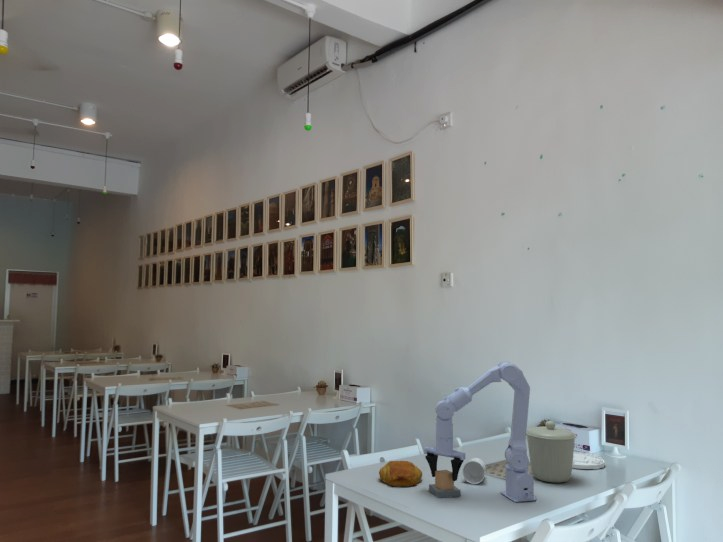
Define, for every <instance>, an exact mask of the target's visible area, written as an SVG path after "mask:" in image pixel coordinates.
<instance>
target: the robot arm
mask: <svg viewBox="0 0 723 542" xmlns="http://www.w3.org/2000/svg"><path fill="white" fill-rule="evenodd" d="M502 380H503V381H504V382H506V383H507V384H508V385H509V386H510V387H511V388H512V390H513V391H514V392H513V393H514V394H513V405H512V416H511V427H510V428H511V429H510V437H509V440H508V446H507V447H506V449H505V451H504V459H505V460H506V461H507V463H506V465H505V490H504V491H500V494H502V495H503V496H504V497H506V498H508V499H510V501H513V502H515V503H517V502H531V501H537V498H536V497H535V493H534V492H535V491H534V490H535V484H534V483H535V482H534V478H533V476H531V474H530V473H529V468H528V466H529V463H530V458H529V456H528V453H527V451H528V448H527V441H526V439H527V435H526V431H527V430H528V417H529V406H530V405H529V404H530V395H531V393H530V392H531V387H530V383H528V381H527V379H526V377H525V375H524V372H523V371H522V369H521V368H519V367H518V366H517V365H516V364H514V363H511V362H510V361H508V360H507V361H501V362H499V363H498V364H497V365H495V366H492V367H491V368H489V369H488V370H487V371H486V372H484V373H483V374H481V376H479V377H478V378H477V379H476V380H474V381H473V382H472V383H471V384H469V385H468V386H467V387H466V386H460V387H457V386H456V388H454V391H453V392H452V393H451V394H449V395H448V396H444V397H443V400H440V401H438V402H437V403H436V405H435V414H436V418H435V420H436V423H435V447H431V446H426V447H424V448H423V450H424V451H423V453H424V454H426V455H425V456H424V457H425V460H426V461H427V464H428V466H429V470H430V473H431V478H435V471H438V458H439V456H441V457H446V458H450V463H451V470H452V471H451V472H452V480H453V481H454V482H456V481H458V477H459V473H460V470H461V467H462V464H463V463H464V461H465V460H466V452H461V451H458V450H455V449H454V424H453V417H454V415H455V412H458V411H460V410H461V409H462V408H464V407H465V406H467V405H468V404H469V403H471V402H472V401H473V396H474V395H475V394H477V393H478V392H480V391H481V390H483V389H484V388H486V387H487V386H489V385H490V384H491V383H502V382H503V381H502ZM451 458H452V459H451Z"/></svg>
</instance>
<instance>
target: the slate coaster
mask: <svg viewBox="0 0 723 542" xmlns="http://www.w3.org/2000/svg"><path fill="white" fill-rule="evenodd" d="M428 491H429V492H430V493H431V494H433V495H434V497H436V498H438V499H444V498H456V497H457V498H458V497H461V493H462V492H461V488H460V489H459V487H457V486H455V485H454V488H453V489H446V490H442V489H440V488H438V487H436V486H435V483H430V484H428Z"/></svg>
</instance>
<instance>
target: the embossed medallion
mask: <svg viewBox="0 0 723 542" xmlns="http://www.w3.org/2000/svg"><path fill="white" fill-rule="evenodd" d="M605 463H606V462H605V460H604V459H603V457H602V456H601V455H598V454H594V453H588V452H585V453H584V452H582V451H581V452H580V451H578V452H576V451H574V453H573V464H572V470H574V469H579V470H580V469H581V470H594V471H595V470H600V469H602V468H605V466H606V465H605Z"/></svg>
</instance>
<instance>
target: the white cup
mask: <svg viewBox="0 0 723 542" xmlns="http://www.w3.org/2000/svg"><path fill="white" fill-rule="evenodd" d="M486 470H487V469H486V464H485V462H484V461H483V460H482V458H479V457H472V458H471V459H469V460H468V461H467V462H465V464H464V465H463V467H462V472H461V473H462V477H463V478H464V480H465V481H466V482H468V483H469V484H471V485H477V484H480V483H481V482H483V480H484V478H485V476H486Z"/></svg>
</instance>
